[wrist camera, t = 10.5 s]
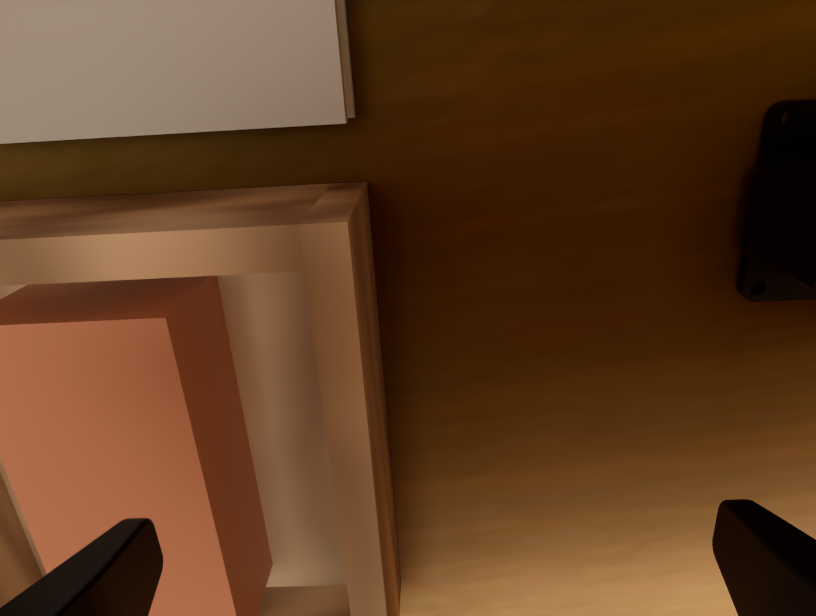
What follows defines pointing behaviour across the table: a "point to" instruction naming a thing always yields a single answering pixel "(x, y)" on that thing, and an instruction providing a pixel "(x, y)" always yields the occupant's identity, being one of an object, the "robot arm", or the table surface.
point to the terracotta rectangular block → (134, 432)
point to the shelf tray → (254, 365)
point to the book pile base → (170, 67)
